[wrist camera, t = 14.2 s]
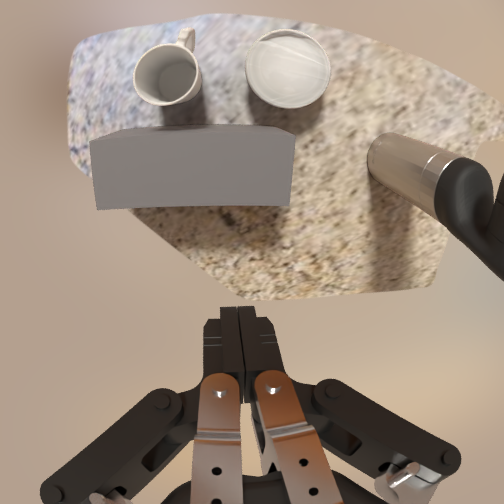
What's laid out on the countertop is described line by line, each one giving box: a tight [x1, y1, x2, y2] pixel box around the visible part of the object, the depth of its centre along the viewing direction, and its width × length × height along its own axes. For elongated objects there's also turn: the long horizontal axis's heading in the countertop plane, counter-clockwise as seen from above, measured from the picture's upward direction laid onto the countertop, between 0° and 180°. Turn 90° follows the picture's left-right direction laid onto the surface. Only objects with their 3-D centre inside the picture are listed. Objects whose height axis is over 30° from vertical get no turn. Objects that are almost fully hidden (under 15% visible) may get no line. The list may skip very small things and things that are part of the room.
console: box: [89, 124, 296, 210], centre depth 34 cm, size 22×8×12 cm, turn 87°
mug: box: [133, 27, 202, 106], centre depth 28 cm, size 10×7×12 cm, turn 159°
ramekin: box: [245, 29, 331, 109], centre depth 32 cm, size 11×11×5 cm
